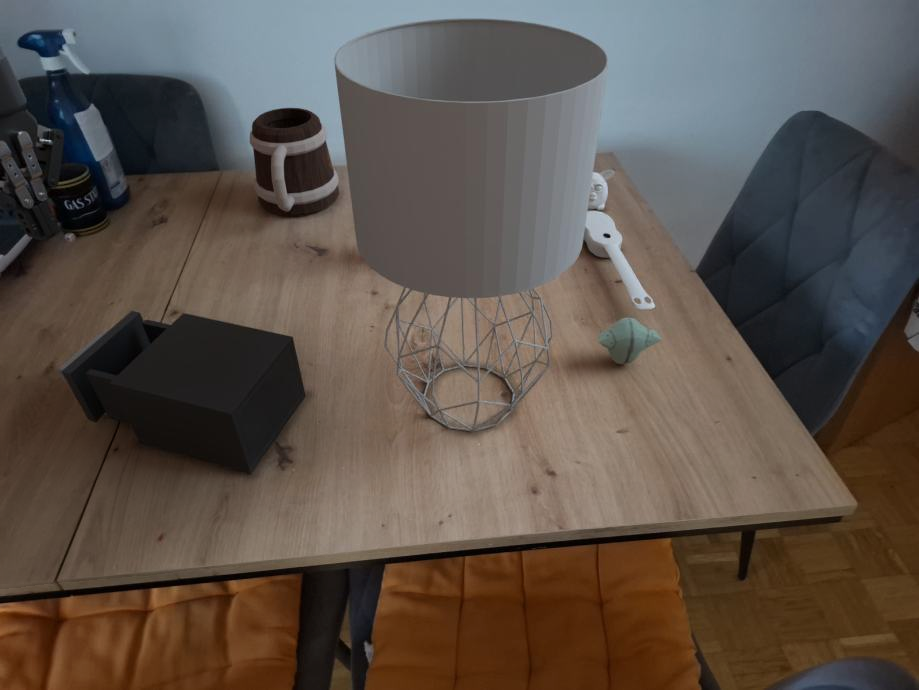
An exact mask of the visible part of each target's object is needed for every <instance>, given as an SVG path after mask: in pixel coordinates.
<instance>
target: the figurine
mask: <svg viewBox="0 0 919 690" xmlns="http://www.w3.org/2000/svg"><path fill="white" fill-rule="evenodd" d="M614 176H615V171H614V170H613V169H606V170H603V171H600V172H595V171H593V175H592V182H591V189H590V196H589V203H588V210H587V211H591V210H595V211H599V212H600V211H603V210H604V209H605V208H606V206H605V204H606V202H607V199H608V195H609V188H608V183H607V181H608V180H610V179H612V178H613V177H614Z"/></svg>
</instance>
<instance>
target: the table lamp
mask: <svg viewBox="0 0 919 690" xmlns="http://www.w3.org/2000/svg"><path fill="white" fill-rule="evenodd" d="M333 60H334V62H333V63H334V70H335V71H334V72H335V79H336V86H337V87H336V88H337V95H338V96H337V97H338V104H339V113H340V119H341V128H342V136H343V143H344V152H345V153H344V154H345V161H346V168H347V177H348V184H349V185H348V186H349V191H350V200H351V209H352V216H353V224H354V233H355V241H356V247H357V249H358V253H359V254H360V256H361V258H362V259H363V261H364V263H366V264H367V265H368V266H369V267H370V268H371V269H372V270H373V271H374V272H375V273H376V274H378V275H379V276H381V277H382V278H384V279H386V280H387V281H390V282H391V283H394V284H395V285H398V286H401V287H402V288H403V289H402V292H401V294H400V296H399V299H398V300H397V303H396V307H395V309H394V311H393V313H392V316H391V318H390V320H389V322H388V325H387V327H386V329H385V337H384V348H385V349H386V351H387V352H388V355H390V357H391V359H392V360H393V361H394V363H395V364H396V376H397V378H398V379H399V380H400V382H401V383H402V385H404V387H405V388H406V389H407V391H408V392H409V393H410V394H411V396H412V397H413V398H414V399H415V400H416V401H417V403H418V404H419V405H420V406H421V408H422V409H423V410H424V411H425V412H426V414H428V416H429V417H430V418H432V419H433V420H435V421H437V422H438V423H439V424H441V425H443V426H444V427H446V428H448V429H450V430H451V429H452V430H457V431H458V430H459V431H466V432H477V431H478V432H479V431H481V430H484V429H488V428H491V427H496V426H498V425H499V424H500V423H501V422H502V421H503V420H504V419H505V418H506V417H507V416H508V415H509V414H510V413H512V412H513V411H514V409H515V408H516V407H517V406H518V405H519V403H520V402H522V400H523V399H524V398H525V397H526V396H527V395H528V393H529V392H530V391H531V390H532V389H533V387H534V386H536V384H537V383H538V381H539V380H540V379H541V378H542V376H543V375H544V373H546V371H548V369H549V368H550V366H551V358H550V348H549V347H550V346H549V344H550V342H551V341H552V339H553V337H554V331H553V320H552V318H551V315H550V314H549V311H548V309H547V306H546V304H545V302H544V299H543V298H542V296H541V295H540V294H539V292H538V291H537V290H536V289H535V288H539V287H541V286H543V285H546V284H548V283H550V282H551V281H553V280H555V279H557V278H558V277H560V276H561V275H563V274H564V273H565V272H566V271H568V270H569V269H570V268H571V267H572V266H573V265H574V264H575V262H576V260H577V259H578V258H579V256H580V254H581V251H582V249H583V244H584V239H583V237H584V231H585V224H586V217H587V211H589V210H588V203H589V196H590V189H591V182H592V175H593V172H594V168H595V161H596V155H597V146H598V141H599V140H598V139H599V133H600V128H601V127H600V126H601V120H602V113H603V108H604V107H603V105H604V99H605V92H606V85H607V84H606V83H607V78H608V71H609V64H610V59H609V55H608V53H607V52H606V50H605V49H604V48H603V47H602V46H601V45H600V44H598V43H596V42H595V41H593V40H592V39H589V38H588V37H585V36H583V35H581V34H578V33H577V32H576V33H575V32H573V31H569V30H567V29H562V28H559V27H554V26H551V25H545V24H541V23H535V22H528V21H522V20H512V19H511V20H510V19H499V18H498V19H497V18H479V17H477V18H475V17H473V18H467V17H466V18H461V17H460V18H459V17H458V18H441V19H440V18H439V19H427V20H421V21H419V20H418V21H413V22H411V21H410V22H405V23H400V24H394V25H389V26H386V27H383V28H377V29H375V30H371V31H369V32H365V33H363V34H361V35H359V36H355V37H354V38H352V39H350V40H348V41H347V42H346V43H344V44H343V45H341V47H339V48H338V50H337V51H336V53H335V55H334V59H333ZM406 289H408V290H407V292H406ZM412 291H415V292H417V293H418V292H419V293H422V294H423V300H422V301H421V303H420V304H419V307H418V308H417V310H416V312H415V314H414V316H413V317H412V319H411V320H410V321H407V320H404V319H400V306H401V305H402V303H403V302H404V301H405V300H406V299H407V297H408V296H409V295H410V294H411V293H412ZM532 291H533V292H532ZM405 292H406V294H405ZM522 292H524V293H525V294H526V295H528V296H529V297H530V298H531V305H530V304H529V302H528V301H527V300H526V297H525V296H524V295H523V293H522ZM533 293H534V294H535V295H536V296H534V295H533ZM515 294H519V295H520V297H521V299H522V301H523V302H524V304H525V305H526V307H527V309H528V311H529V312H526V313H524V314H521V315H518V316H515V317H513V318H510V319H509V316H508V314H507V311H506V306H505V305H504V302H503V299H502V297H504V296H509V295H515ZM429 295H431V296H438V297H444V298H448V301H447V305H446V309H445V312H444V313H443V314H442V315H441V316H440V318H439V319H438V320H437V322H436V323H435V325H433V324H432V320H431V317H430V313H429V310H428V309H429V307H428V306H427V301H426V300H427V298H428V297H429ZM496 297H497V298H498V302H497V308H496V313H495V319H494V321H492V320H491V319H490V318H489V317H488V316H487V315H486V314H485V313H484V312H483V311H482V310H481V309H480V308H479V307H478V303H477V301H478V300H477V299H485V298H486V299H487V298H496ZM452 298H453V299H454V298H455V299H454V300H453V301H452ZM458 299H460V301H461V302H460V306H461V307H460V308H461V335H462V359H463V360H462V359H461V358H460V356H458V354H456V352H454V350H453V349H452V348H451V347H450V346H449V345H448V344H447V343H446V341H444V340H443V338H442V337H443V334H444V329H445V325H446V322H447V318H448V314H449V311H450V309H451V308H452V307H453V306H454V304H456V302H457V301H458ZM464 299H466V300H467V301H469V303H470V304H471V305H472V306H473V307H474V321H475V323H474V324H475V342H476V343H475V345H476V348H475V349H474V350H473V352H472V353H471V354H470V356H469V357H468V358H467V360H466V350H465V346H466V345H465V323H464V320H465V319H464ZM471 299H473V300H471ZM535 300H539V303H540V309H541V317H542V325H543V328H542V326H541V323H540V322H541V321H539V319H538V317H537V315H536V314H535V313H536V311H535ZM451 301H452V303H451ZM473 301H474V302H473ZM423 306H424V307H425V311H426V315H427V320H428V322H429V326H430V327H427V326H424V325H421V324H417V323H415V321H416V319H417V317H418V315H419V313H420V311H421V309H422V308H423ZM500 306H501V308H502V309H501V310H502V311H503V316H504V318H505V321H502V322H500V323H497V322H498V317H499V313H500ZM478 312H479V313H480V314H481V315H482V316H483V318H485V319H486V320H487V321H488V322H489V323H490V324H491V326H493V327H492V328H491V329H490V330H489V332H488V333H487V334H486V335H485V336H484V338H483V339H482V340H481V342H480V341H479V339H480V338H479V321H478V320H479V319H478ZM545 313H546V314H545ZM528 315H530V316H529V319H528V321H527V323H526V326H525V327H524V330H523V333H522V335H521V337H520V340H518V339H516V336H515V334H514V331H513V328H512V325H511V322H513V321H515V320H518V319H520V318H523V317H526V316H528ZM545 315H546V316H547V319H548V321H549V329H550V337H549V338H548V332H547V326H546V319H545V317H546V316H545ZM394 320H395V329H396V340H397V359H396V358H395V356H394V354H393V353H392V352H391V350H390V349H389V347H388V346H387V344H388V335H389V331H390V328H391V326H392V323H393V321H394ZM441 321H442V325H441V329H440V331H439V332H440V333H439V334H438V333H437V332H436V331H435V330H434V329H436V327H437V326H438V325H439V324H440V322H441ZM531 321H532V326H533V327H532V329H533V343H531V342H526V341H523V340H524V337H525V335H526V332H527V330H528V329H529V325H530V323H531ZM400 322H401V323H404V324H408V327H407V328H406V331H405V332H404V329H403V328H402V326H401V324H400ZM536 323H537V326H538V328H539V331H540V334H541V337H542V340H543V343H544V346H543V345H539V344H537V335H536V333H537V332H536ZM504 324H507V326H508V329H509V331H510V335H511V337H512V340H513V341H512V342H511V343H510V344H509V345H508V347H507V348H506V349H505V350H504V351H503V352H502V351H501V345H500V340H499V335H498V331H497V327H499V326H501V325H504ZM412 326H415V327H418V328H422V329H425V330H428V331H430V340H429V341H430V342H429V343H430V344H429V346H428V347H425V348H422V349H419V350H416V351H414V350H413V348H412V346H411V345H410V342H409V340H408V336H409V333H410V330H411V328H412ZM400 332H401V335H402V336H403V341H402V344H401V342H400V341H401V340H400V339H401V338H400V337H401V335H400ZM491 333H492V334H491ZM490 334H491V338H490V343H489V349H488V354H487V358H486V363H485V366H482V365H481V364H480V347H481V346H482V345H483V343H484V342H485V341H486V339H487V338H488V337H489V336H490ZM494 336H495V340H496V345H497V349H498V355H499V357H498V358H497V359H496V360H495V361H494V363H493V364H491V366H490V367H488V366H489V362H490V357H491V351H492V348H493V342H494ZM436 337H437V338H438V341H437V338H436ZM433 341H434V345H433ZM441 342H442V344H444V346H445V347H446V348H447V349H448V350H449V351H450V352H451V353H452V354H453V355H454V356H455V357H453V356H452V355H451V354H450V353H449V352H448V351H446V349H445V348H443V347H442V346H441ZM406 344H407V346H408V349H409V350H410V352H409V353H406V354H403V350H404V348H405V345H406ZM521 345H525V346H530V347H534V360H532V361H531V362H529V363H527V364H525V365H523V366H522V363H521V358H520V354H519V353H520V352H519V348H520V346H521ZM513 346H514V348H515V349H514V350H515V351H514V353H513V356H512V358H511V360H510V362H509V364H508V367H507V369H506V371H505V367H504V363H503V357H504V356H505V355H506V354H507V352H508V351H509V350H510V349H511V348H512V347H513ZM537 348H538V349H541V351H540V352H539V354H537V351H538V350H537ZM432 349H436V350H435V356H434V357H435V358H434V363H433V368H432V375H431V363H432ZM440 350H441V351H442V352H443V353H444V354H445V355H446V356H447V357H448V358H450V360H452V361H453V362H454V363H455V364H456V366H452V367H448V368H444V364H443V361H442V356H441V353H440ZM426 351H429V354H428V367H427V375H426V374H425V372H424V370H423V368H422V366H421V363H420V362H419V360H418V358H417V356H416V355H417V354H419V353H423V352H426ZM544 351H546V356H547V358H546V359H547V362H546V361H545V362H544V361H541V360H539V359H540V357H541V356H542V354H543V353H544ZM475 354H476V362H477V363H476V365H472V364H468V363H469V361H470V360H471V358H472V357H473V356H474V355H475ZM409 356H413V358H414V361H415V363H416V364H417V366H418V368H419V370H420V372H421V374H422V375H423V377H420V376H418V375H416V374H414V373H413V372H410V371H408V370H406V369H404V368H403V362H402V359H403V358H405V357H409ZM455 358H456V359H457V360H456V359H455ZM515 358H517V363H518V367H519V368H518V369H516V370H514V371H512V372H511V373H509V371H510V369H511V366H512V365H513V362H514V360H515ZM438 360H439V363H440V366H441V367H440V368H441V370H440V371H439V372H438V373H437V374H436V369H437V363H438ZM499 362H500V365H501V371H502V374H500V373H498V371H495V370H493V368H494V367H495V366H496V365H498V363H499ZM537 363H538V364H541V365H543V366H544V365H545V367H544V368H543V369H542V370H541V371H540V373H538V374H537V376H536V377H535V378H534V379H533V380H532V381H531V382H530V383H529V384H528V385H527V386H526V384H527V382H528V380H529V379H530V376H531V374H532V372H533V370H534V368H535V366H536V364H537ZM529 366H530V367H529ZM465 367H467V368H476V369H477V370H476V371H477V372H476V373H477V378H476V377H475V376H474V375H473V374H472V373H471V372H470V371H468V369H466V368H465ZM527 367H529V369H528V370H527V372H526V373H525V375H524V372H523V370H524V369H526V368H527ZM459 368H461V369H462V370H463V371H464V372H465V373H466V374H467V375H468V376H469V377H470V378H472V379H473V381H475V382H476V383H477V400H474V401H470V402H466V403H461V404H457V405H452V406H447V407H444V408H440V406H439V404H438V402H437V400H436V398H435V396H434V388H435V387H434V386H435V379H436V378H437V377H440V375H441V374H443V373H444V372H446V371H447V372H448V371H450V370H454V369H459ZM480 369H485V370H487V371H486V372H485V373H484V374H483V375H482V376H481V370H480ZM490 372H491V373H493V374H494V375H497V376H498V377H500V378H502V379H503V380H504V381H505V383H506V385H507V387H508V388H509V390H510V391H511V393H512V396H511V403H503V402H495V401H487V400H481V382H482V381H483V380H484V379H485V378H486V377H487V376H488V374H489V373H490ZM518 372H520V382H519V383H518V384H517V387H516V388H514V389H513V388H512V386H511V384H510V383H509V381H508V380H507V378H509V377H511V376H513V375H514V374H515V375H516V373H518ZM400 373H402V375H403V376H401V375H400ZM408 375H409V376H412V377H414V378H415V379H418V380H420V381H422V382H424V383H426V386H425V389H424V392H423V393H422V392H420V391H419V389H418V388H417V387H416V386H415V384H414V383H413V381H412V379H410V377H409V376H408ZM430 376H431V377H430ZM430 383H431V385H430ZM429 385H430V386H431V387H430V397H431V399H432V400H433V402H432V401H431V400H430V399H429V398H428V397H426V394H427V391H428V388H429ZM525 386H526V387H525ZM519 388H520V389H519ZM411 389H412V390H413V391H412V390H411ZM518 389H519V392H518V393H517V391H518ZM516 393H517V395H515V394H516ZM426 401H427V402H426ZM427 403H429V404H430V405H431V406H432V407H433V408H435V411H434V412H432V413H431V411H430V409H429V406H428V404H427ZM474 404H476V409H475V414H474V415H475V416H474V422H473V426H472V427H471V426H469V425H468V424H466V423H464V422H463V421H460V420H459V419H457V418H455V417H454V416H453V415H451V414H449V413H447V412H445V411H447V410H452V409H456V408H460V407H465V406H469V405H474ZM480 404H485V405H486V404H487V405H495V406H502V407H503V406H504V407H505V408H503V409H502V410H500V411H498V412H497V413H495V414H494V415H493V416H491V417H490V418H488V419H486V420H485V421H483V422H482V423H481V424H479V425H477V421H478V416H479V410H480ZM437 413H439V414H440V416H441V417H442V419H443V421H444V422H443V421H442V420H441V419H439V418H437V417H435V416H434V415H436V414H437ZM501 414H502V415H501ZM499 415H501V416H500V417H499V419H498V420H497V421H496V423H493V424H488V425H486V424H487V423H488V422H490V421H493V419H495V418H497V417H498V416H499ZM446 416H447V417H448V418H450V419H451V420H452V421H453V420H454V421H455V422H456V423H458V424H460V425H462V426H464V427H465V428H464V427H457V426H450V424H449V422H448V420H447V418H446ZM476 425H477V426H476ZM484 425H486V426H484Z"/></svg>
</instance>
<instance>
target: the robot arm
mask: <svg viewBox="0 0 919 690" xmlns="http://www.w3.org/2000/svg"><path fill="white" fill-rule="evenodd" d="M26 106H27V98H26V95H25V94H24V91H23V89H22V88H21V85H20V83H19V81H18V78H17V76H16V74H15V72H14V70H13V68H12V66H11V63H10V61H9V59H8V57H7V55H6V52H5V50H4V48H3V46H2V44H1V43H0V210H5V211H13V213H14V215H15V217H16V219H17V221H18V222H19V224H20V226H21V228H22V230H23V232H24V234H25V235H26V236H28V237H29V238H32V239H34V240H36V241H44V242H47V241H49V240H50V239H52V238H54V237H55V236H57V235H59V231H58V229H57V228H59V224H58V220H57V218H56V216H55V214H54V211H53V210H52V208H51V206H50V204H49V202H48V193H49V192H50V191H51V190H52V189H56V188H57V187H58V186H59V184H60V183H59V181H60V174H61V169H62V161H63V160H62V159H63V152H64V144H65V133H64V131H63V130H62V129H60V128H48V127H46V126H44V125H41V124H38V121H37V119H36V117H35V116H34V115H33V114H32V113H30V112H29V110H28V109H27V108H26Z"/></svg>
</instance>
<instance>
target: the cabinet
mask: <svg viewBox="0 0 919 690" xmlns="http://www.w3.org/2000/svg"><path fill="white" fill-rule="evenodd" d="M301 371H302V370H301V367H300V362H299V357H298V353H297V348H296V344H295V340H294V337H293V336H291V335H288V334H282V333H277V332H273V331H269V330H264V329H259V328H255V327H250V326H246V325H245V326H244V325H241V324H236V323H232V322H227V321H223V320H217V319H213V318H209V317H205V316H200V315H195V314H190V313H185V312H183V313H182V314H181V315H180V316H179V317H177V318H176V319H175V320H174V321H173V322H172V323H171V324H170V326H169V327H168V328H167V329H166V330H165V331H164V332H163V333H162V334H161V335H160V336H159V337H158V338H156V339H155V340H154V341H153V342H152V343H151V344H150V345H149V346H148V347H147V348H146V349H145V350H144V351H143V352H142V353H141V354H140V355H139V356H138V357H136V358H135V359H134V360H133V361H132V362H131V363H130V364H129V365H128V366H127V367H126V368H125V369H124V370H123V371H122V372H121V373H120V374H119V375H117V376H116V377H115V378H114V379H113V380H112V381H111V382H110V385H111V387H112V389H113V392H114V394H115V396H116V398H117V400H118V402H119V404H120V406H121V408H122V410H123V412H124V414H125V416H126V418H127V420H128V422H129V424H128V425H129V427H130V428H131V430H132V432H133V434H134V435H135V438H136V439H137V441H138V443H139V444H141V445H143V446H144V445H145V446H148V447H151V448H154V449H155V448H156V449H159V450H162V451H166V452H170V453H173V454H177V455H179V456H184V457H187V458H191V459H195V460H198V461H202V462H206V463H209V464H213V465H216V466H220V467H224V468H227V469H231V470H235V471H239V472H242V473H245V474H248V475H252V474H253V473H254V471H255V469H256V468H257V467H258V465H259V464H260V462H261V461H262V460H263V458H264V457H265V456H266V454H267V453H268V451H269V449H270V448H271V447H272V446H273V444H274V442H276V440H277V438H278V437H279V435H280V434H281V433H282V431H283V430H284V428H285V427H286V425H288V423H289V421H290V419H291V418H292V417H293V415H294V414H295V413H296V412H297V410H298V408H299V407H300V405H301V404H302V403H303V401H304V400H305V398H306V397H307V394H306V389H305V385H304V381H303V377H302V372H301Z"/></svg>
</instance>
